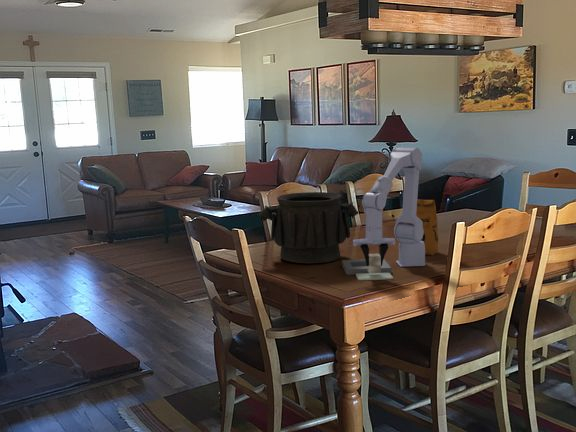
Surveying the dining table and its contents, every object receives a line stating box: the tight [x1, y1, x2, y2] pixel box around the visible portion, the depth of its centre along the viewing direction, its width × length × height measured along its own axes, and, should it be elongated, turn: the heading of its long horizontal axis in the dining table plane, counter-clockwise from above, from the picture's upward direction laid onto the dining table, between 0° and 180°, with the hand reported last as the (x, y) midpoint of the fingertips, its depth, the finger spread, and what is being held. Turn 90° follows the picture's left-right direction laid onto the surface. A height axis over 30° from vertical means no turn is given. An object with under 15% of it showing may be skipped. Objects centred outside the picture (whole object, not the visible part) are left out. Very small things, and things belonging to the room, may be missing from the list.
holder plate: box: [341, 258, 392, 276], centre depth 235 cm, size 16×14×2 cm
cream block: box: [367, 253, 381, 273], centre depth 223 cm, size 4×4×6 cm
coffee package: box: [407, 198, 439, 256], centre depth 257 cm, size 10×12×22 cm
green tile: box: [355, 272, 394, 281], centre depth 223 cm, size 12×7×1 cm, turn 93°
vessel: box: [257, 191, 359, 264], centre depth 253 cm, size 31×32×25 cm
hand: (374, 265), depth 223 cm, fingers closed on cream block, 4 cm apart
